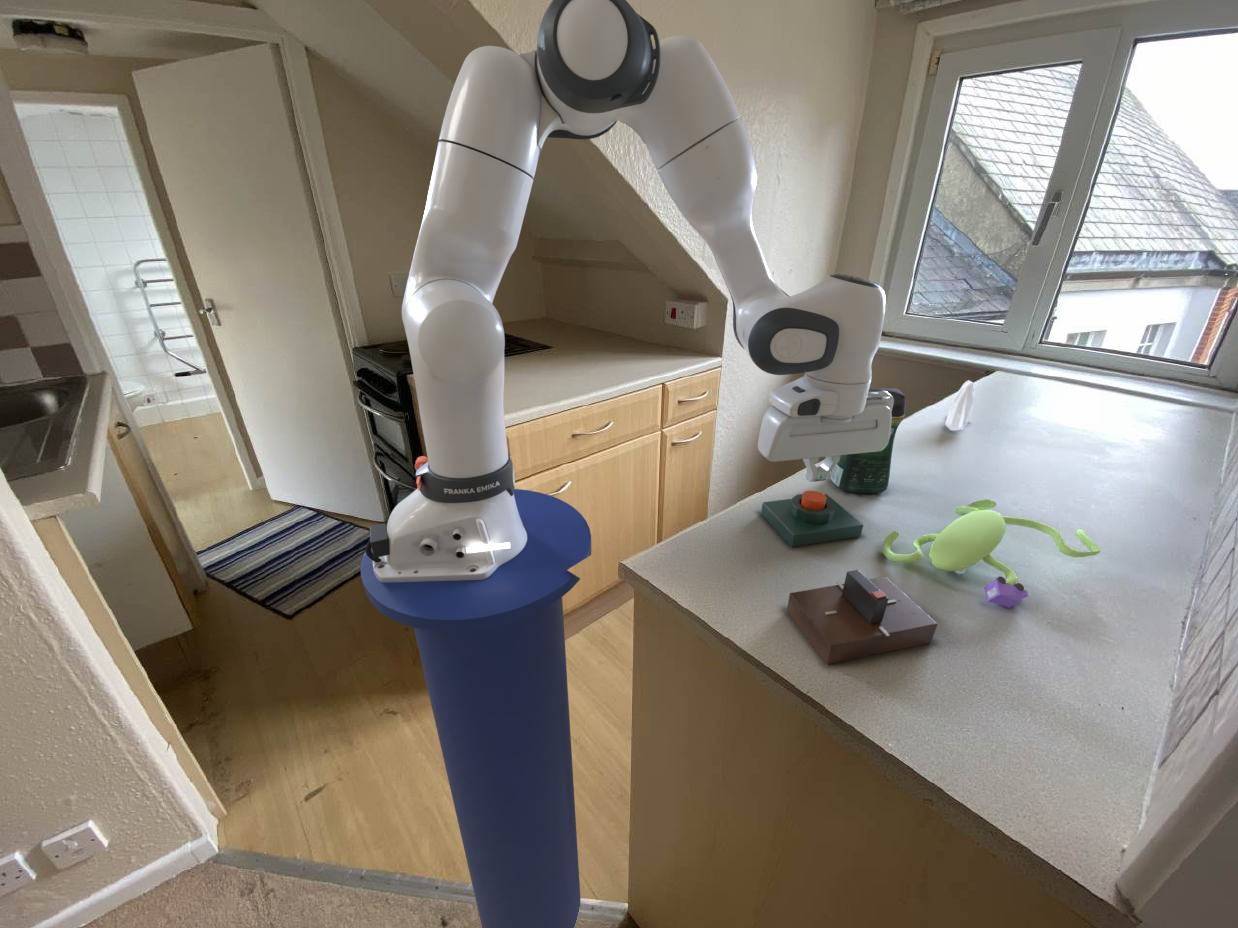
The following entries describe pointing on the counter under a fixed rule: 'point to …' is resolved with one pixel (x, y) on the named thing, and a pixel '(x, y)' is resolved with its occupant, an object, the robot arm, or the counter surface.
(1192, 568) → the counter surface
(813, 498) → the button
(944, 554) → the figurine
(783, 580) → the counter surface
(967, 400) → the white folded napkin
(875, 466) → the coffee jar
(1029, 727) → the counter surface
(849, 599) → the dark block
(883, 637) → the knob panel
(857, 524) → the button box
